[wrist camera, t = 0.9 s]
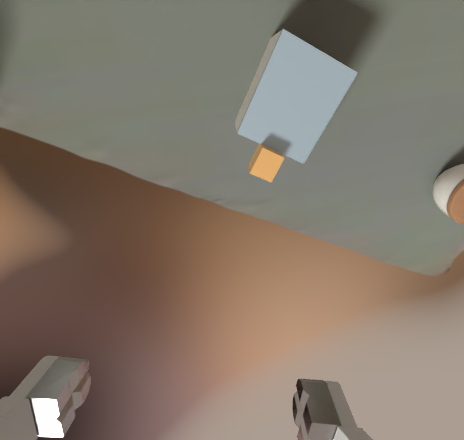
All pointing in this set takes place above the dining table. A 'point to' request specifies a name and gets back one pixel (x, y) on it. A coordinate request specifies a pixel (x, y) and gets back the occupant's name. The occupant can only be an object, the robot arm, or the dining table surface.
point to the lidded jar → (451, 192)
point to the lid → (292, 103)
